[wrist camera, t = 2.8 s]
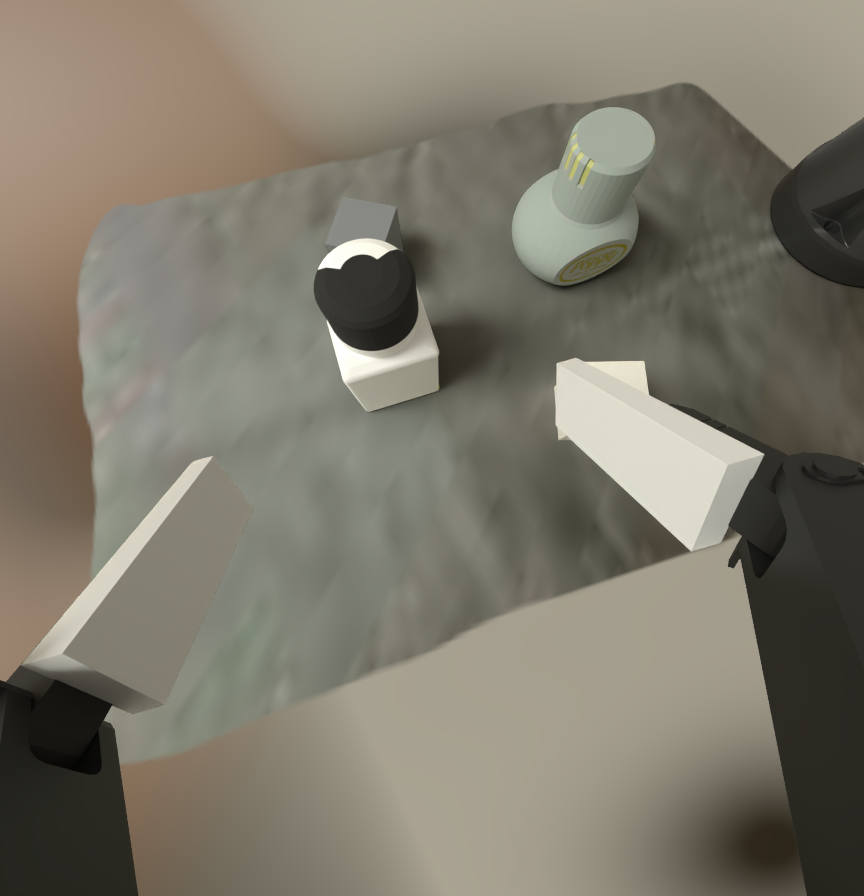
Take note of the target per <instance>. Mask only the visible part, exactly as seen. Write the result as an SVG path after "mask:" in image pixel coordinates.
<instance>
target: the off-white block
mask: <svg viewBox="0 0 864 896" xmlns="http://www.w3.org/2000/svg"><path fill="white" fill-rule="evenodd" d="M585 363H587V364H589V365H591V366H593V367H595V368H597V369H599V370H601V371H603V372H605V373H607V374H609V375H611V376H613V377H615V378H617V379H619V380H620V381H622V382H624V383H626V384H628V385H630V386H632V387H634V388H636V389H638V390H640V391H642V392H644V393H646V394H648V395H649V392H648V385H647V378H646V371H645V364H644V361H618V362H585ZM554 390H555V402H556V386H555V387H554ZM558 438H559V440H571V439H570V438H569V437H568V436H567V435H566V434H564V433H563V432H562V431H561V430H560V429H559V428H558Z"/></svg>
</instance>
